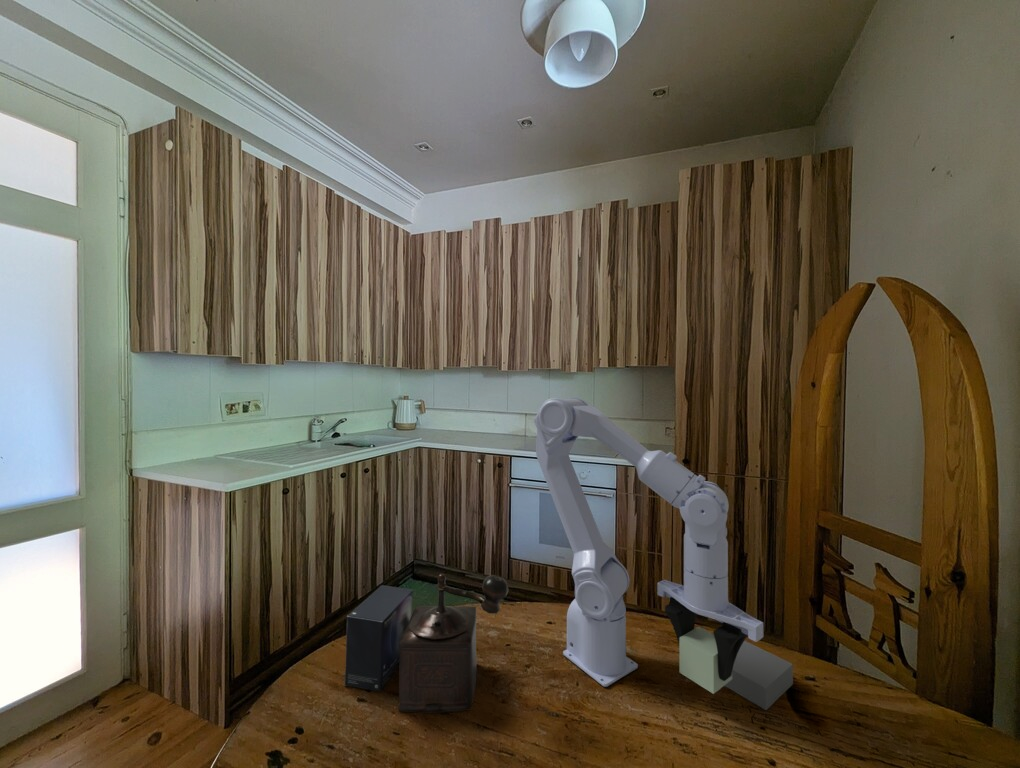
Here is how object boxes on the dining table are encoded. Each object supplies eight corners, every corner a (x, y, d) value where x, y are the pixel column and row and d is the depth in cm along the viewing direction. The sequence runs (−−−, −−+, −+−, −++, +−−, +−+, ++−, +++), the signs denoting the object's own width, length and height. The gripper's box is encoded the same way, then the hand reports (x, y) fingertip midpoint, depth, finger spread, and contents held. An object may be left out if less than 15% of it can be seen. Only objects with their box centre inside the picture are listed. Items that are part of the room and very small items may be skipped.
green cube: (679, 672, 58) (679, 637, 58) (698, 659, 61) (698, 626, 61) (713, 694, 54) (713, 656, 54) (732, 679, 57) (732, 643, 57)
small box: (382, 693, 59) (383, 621, 59) (342, 687, 60) (343, 616, 60) (413, 649, 69) (414, 587, 69) (379, 644, 70) (380, 583, 71)
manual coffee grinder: (394, 716, 55) (395, 583, 55) (413, 662, 66) (415, 551, 66) (508, 717, 55) (508, 583, 55) (508, 662, 66) (509, 552, 66)
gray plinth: (703, 673, 63) (703, 654, 63) (732, 652, 68) (732, 634, 68) (766, 710, 56) (765, 688, 56) (793, 683, 61) (792, 663, 61)
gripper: (773, 582, 54) (774, 684, 54) (675, 547, 66) (675, 631, 66) (748, 597, 50) (749, 707, 50) (649, 557, 62) (649, 646, 62)
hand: (705, 665), depth 57 cm, fingers closed on green cube, 5 cm apart
